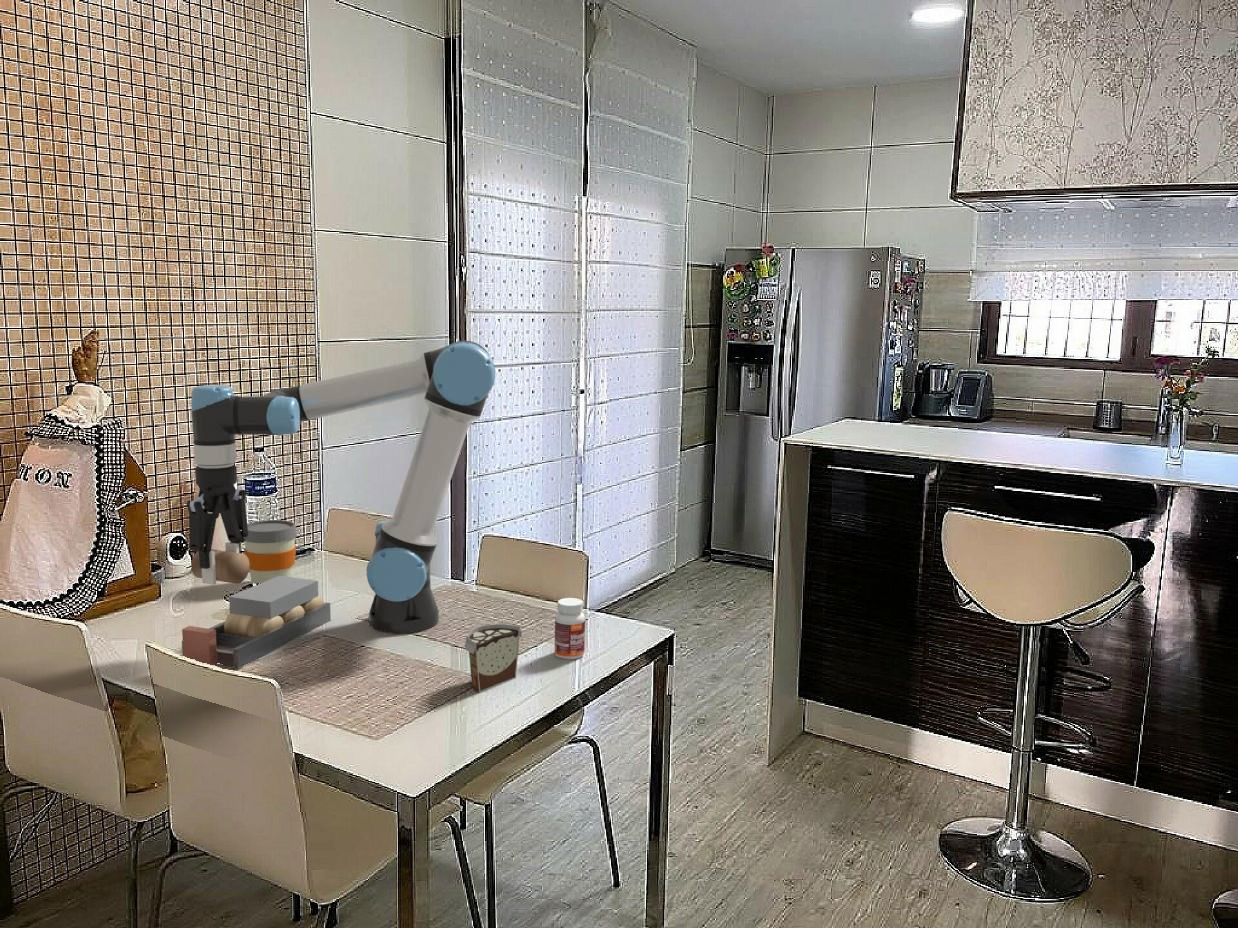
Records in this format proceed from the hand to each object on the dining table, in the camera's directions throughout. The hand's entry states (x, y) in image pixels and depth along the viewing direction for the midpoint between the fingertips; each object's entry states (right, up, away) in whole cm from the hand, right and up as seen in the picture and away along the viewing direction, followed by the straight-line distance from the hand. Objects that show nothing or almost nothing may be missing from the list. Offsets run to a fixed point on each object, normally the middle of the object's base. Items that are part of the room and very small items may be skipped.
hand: (221, 578), depth 186 cm
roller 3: (+6, -13, +13) cm, 19 cm away
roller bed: (+4, -14, +7) cm, 16 cm away
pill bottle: (+69, -16, +4) cm, 71 cm away
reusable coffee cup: (-7, -7, +45) cm, 46 cm away
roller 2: (+4, -14, +7) cm, 16 cm away
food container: (+54, -18, -10) cm, 58 cm away
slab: (+6, -7, +12) cm, 15 cm away
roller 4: (+8, -12, +20) cm, 24 cm away
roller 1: (0, 0, -1) cm, 1 cm away
